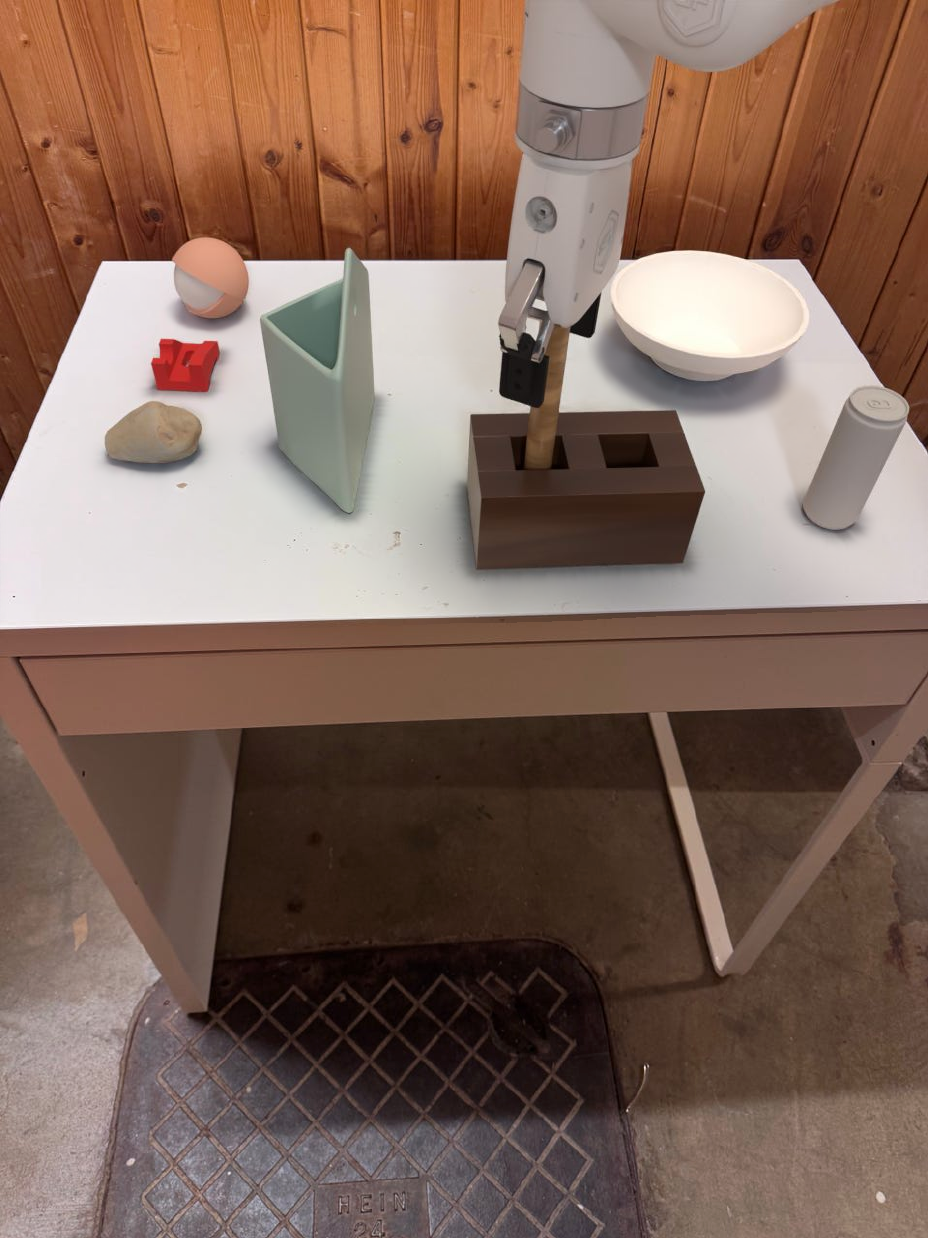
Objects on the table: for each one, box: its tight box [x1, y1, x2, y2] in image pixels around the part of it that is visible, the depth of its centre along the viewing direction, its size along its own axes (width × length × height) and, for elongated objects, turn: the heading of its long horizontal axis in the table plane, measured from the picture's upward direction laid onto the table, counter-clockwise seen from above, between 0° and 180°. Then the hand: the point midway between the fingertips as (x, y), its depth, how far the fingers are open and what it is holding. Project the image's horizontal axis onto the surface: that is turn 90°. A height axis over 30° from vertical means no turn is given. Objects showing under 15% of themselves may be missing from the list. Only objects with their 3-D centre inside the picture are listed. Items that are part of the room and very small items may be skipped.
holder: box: [466, 409, 706, 571], centre depth 77 cm, size 10×17×8 cm, turn 94°
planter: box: [259, 247, 376, 514], centre depth 78 cm, size 16×8×20 cm, turn 177°
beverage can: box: [802, 384, 910, 531], centre depth 77 cm, size 5×5×12 cm
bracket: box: [150, 338, 221, 393], centre depth 91 cm, size 6×5×3 cm
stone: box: [104, 400, 203, 464], centre depth 83 cm, size 7×6×8 cm
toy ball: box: [171, 236, 250, 319], centre depth 96 cm, size 8×8×8 cm
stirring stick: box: [523, 310, 571, 470], centre depth 72 cm, size 2×2×20 cm
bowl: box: [609, 250, 810, 382], centre depth 94 cm, size 20×20×7 cm
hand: (548, 364), depth 67 cm, fingers open, 9 cm apart
